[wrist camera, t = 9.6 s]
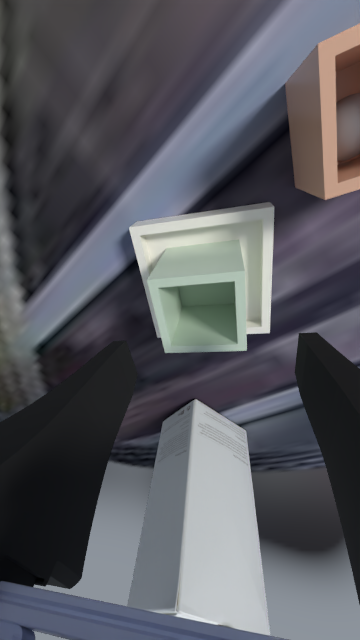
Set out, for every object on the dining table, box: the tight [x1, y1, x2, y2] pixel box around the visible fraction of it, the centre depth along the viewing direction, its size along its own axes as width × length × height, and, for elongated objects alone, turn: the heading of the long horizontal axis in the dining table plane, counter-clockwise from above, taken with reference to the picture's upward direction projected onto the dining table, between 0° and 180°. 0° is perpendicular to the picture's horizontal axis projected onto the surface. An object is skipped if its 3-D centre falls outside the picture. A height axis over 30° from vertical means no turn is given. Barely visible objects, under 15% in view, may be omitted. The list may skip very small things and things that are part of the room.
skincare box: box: [127, 399, 270, 636], centre depth 23 cm, size 8×7×16 cm
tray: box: [129, 202, 274, 338], centre depth 18 cm, size 9×9×2 cm
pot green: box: [147, 240, 247, 353], centre depth 16 cm, size 5×5×6 cm
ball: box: [336, 93, 360, 161], centre depth 12 cm, size 3×3×3 cm
